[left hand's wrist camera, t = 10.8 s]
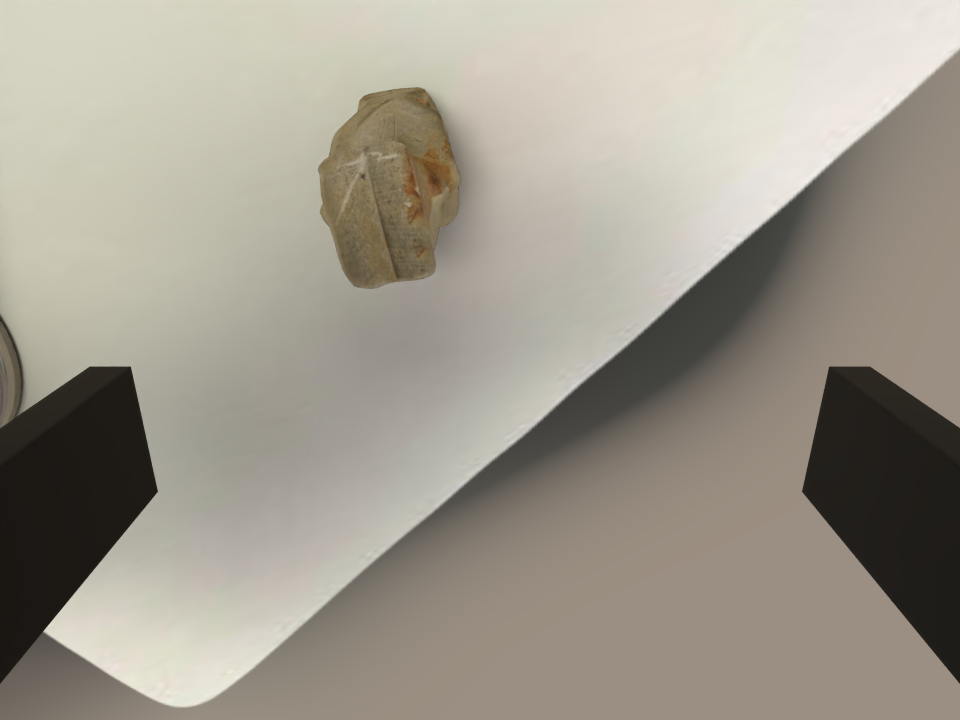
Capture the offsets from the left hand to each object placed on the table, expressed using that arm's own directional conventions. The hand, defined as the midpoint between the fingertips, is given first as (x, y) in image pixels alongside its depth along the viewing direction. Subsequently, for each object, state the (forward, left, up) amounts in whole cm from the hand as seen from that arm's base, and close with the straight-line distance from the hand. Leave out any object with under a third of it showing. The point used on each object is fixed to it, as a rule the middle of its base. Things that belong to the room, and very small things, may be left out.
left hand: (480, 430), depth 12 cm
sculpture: (-1, +5, -27) cm, 27 cm away
